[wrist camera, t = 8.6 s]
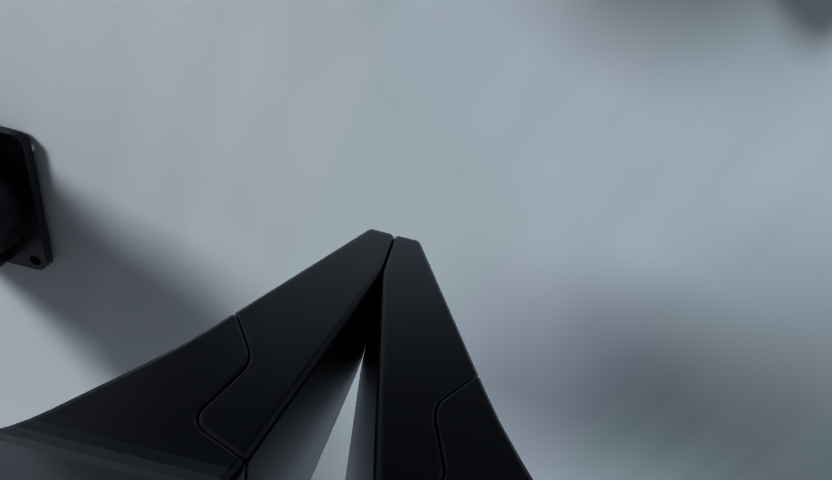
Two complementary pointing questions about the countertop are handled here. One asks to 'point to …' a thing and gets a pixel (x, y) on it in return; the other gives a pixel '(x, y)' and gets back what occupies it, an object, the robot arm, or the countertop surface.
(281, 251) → the countertop surface
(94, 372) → the countertop surface
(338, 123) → the countertop surface
